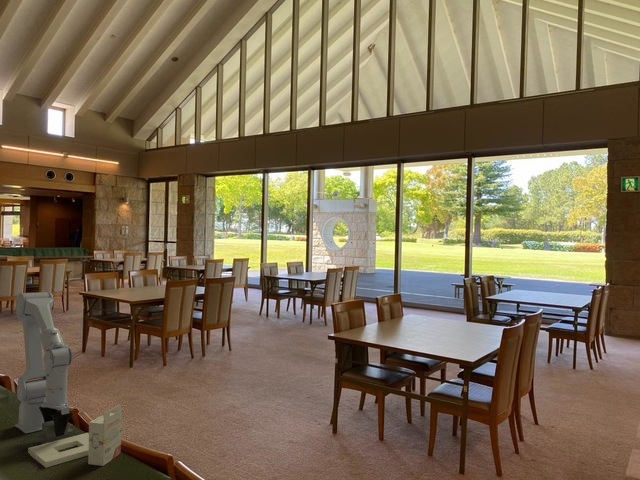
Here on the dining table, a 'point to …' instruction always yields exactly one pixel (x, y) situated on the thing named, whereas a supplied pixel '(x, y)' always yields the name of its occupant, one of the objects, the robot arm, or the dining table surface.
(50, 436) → the servo block
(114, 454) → the ink cartridge box
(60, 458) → the pocket plate
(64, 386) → the robot arm
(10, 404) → the dining table surface
